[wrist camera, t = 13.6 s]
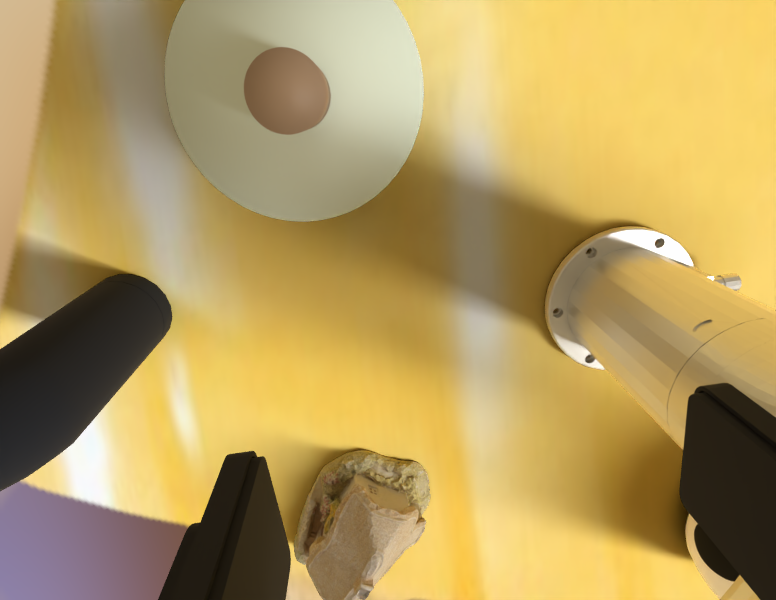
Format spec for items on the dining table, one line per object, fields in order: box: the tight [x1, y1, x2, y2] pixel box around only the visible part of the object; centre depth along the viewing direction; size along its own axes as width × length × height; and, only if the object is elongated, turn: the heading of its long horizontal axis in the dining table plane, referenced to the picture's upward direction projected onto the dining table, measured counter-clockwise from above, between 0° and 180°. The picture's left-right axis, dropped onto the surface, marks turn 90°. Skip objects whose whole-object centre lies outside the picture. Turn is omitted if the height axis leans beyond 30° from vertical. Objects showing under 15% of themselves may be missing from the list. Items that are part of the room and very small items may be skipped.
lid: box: [164, 0, 424, 222], centre depth 28 cm, size 15×15×6 cm
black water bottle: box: [0, 274, 172, 491], centre depth 27 cm, size 6×6×30 cm
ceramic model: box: [294, 450, 430, 600], centre depth 45 cm, size 14×11×10 cm
